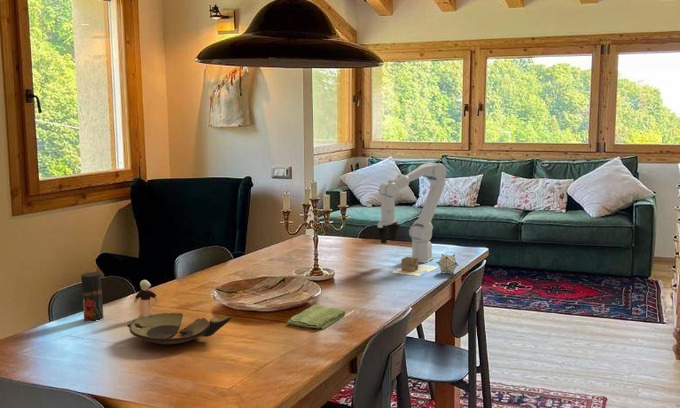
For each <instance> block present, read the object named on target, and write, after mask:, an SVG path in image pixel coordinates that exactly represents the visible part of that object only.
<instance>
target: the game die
mask: <svg viewBox="0 0 680 408" xmlns="http://www.w3.org/2000/svg"><path fill="white" fill-rule="evenodd" d="M436 264H438V266H439V269H440V271H441V272H440V275H442V274H444V273H445V274H448V273H449V274H452V275H454V271H455V269H456V268H457V267H459V266H460V265H459V264H458V263H457V261H456V258H455V253H454V254H453V255H447V254H445V255H444V253H441V257H440V258H439V261H436Z"/></svg>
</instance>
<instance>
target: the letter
mask: <svg viewBox="0 0 680 408" xmlns="http://www.w3.org/2000/svg"><path fill="white" fill-rule="evenodd" d="M425 267H426V268H425ZM422 268H423V269H422ZM438 268H439V269H440V266H439V267H438V266H432V265H424V264H418V270H416V271H414V272H407V271H402V267H401V268H398V269H396V270H394V271H391V273H392V274H398V273H399V275H405V274H406V275H407V276H413V275H414V276H416V277H421V276H422V275H421V274H420V273H421V272H422V271H425V270H426V271H428V273H430V272H432V271H434V270H436V269H438ZM420 271H421V272H420ZM419 272H420V273H419ZM418 273H419V274H418ZM420 275H421V276H420Z"/></svg>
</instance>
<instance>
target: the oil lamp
mask: <svg viewBox="0 0 680 408" xmlns="http://www.w3.org/2000/svg"><path fill="white" fill-rule="evenodd" d="M183 315H184V314H183V313H179V312H178V313H177V312H169V313H168V312H163V313H156V314H152V315H151V316H147V317H143V318H140V319H138V318H137V319H133V320H131V323H127V324H126V325H127V326H126V327H127V328H129V333H130V334H131V335H132V336H134V337H136V338H138V339H141V340H144V341H147V342H150V343H153V344H159V345H177V344H184V343H187V342H190V341H193V340H196V339H198V338H200V337H207V338H208V337H211V336H213V335H214V334H215V333H216V332H218V331H219V330H220V329H221V328H223V327H224V326H225V325H226V324H228V322H230V321H231V320H232V318H233V317H232V316H230V315H229V316H225V317H224V318H217V317H215V316H214V317H213V316H212V317H211V318H210V319H209V320H208V319H206V318H205V317H202V318H197V319H195V320H193V321H192V322H191V323H189V324H188V325H187V326H185V327H184V328H182V329H181V330H180V327H181V324H182V320H183V317H184V316H183ZM178 333H179V334H180V335H182V336H180V337H174V336H176V334H178Z"/></svg>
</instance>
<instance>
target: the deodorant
mask: <svg viewBox="0 0 680 408" xmlns="http://www.w3.org/2000/svg"><path fill="white" fill-rule="evenodd" d="M80 277H81V279H80V280H81V291H82V306H83V307H82V309H83V319H84V320H86V321H96V320H100V319H102V318H103V319H104V306H103V303H104V302H103V290H102V276H101V273H100V272H93V271H91V272H85V273H82V274H80ZM103 319H102V320H103ZM86 321H85V322H86ZM100 321H101V320H100ZM96 322H97V321H96Z"/></svg>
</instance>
